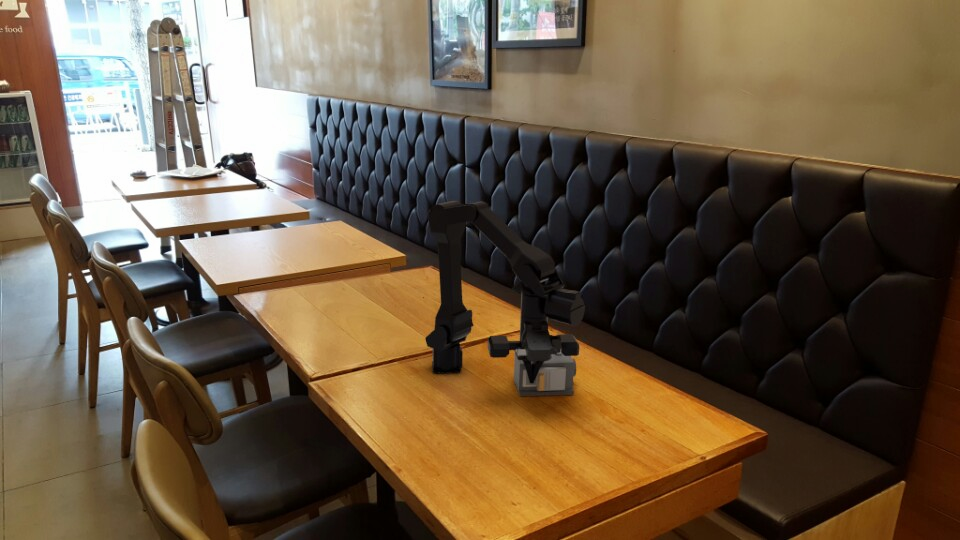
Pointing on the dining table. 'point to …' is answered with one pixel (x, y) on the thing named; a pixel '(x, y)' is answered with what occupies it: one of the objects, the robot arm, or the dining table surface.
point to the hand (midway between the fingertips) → (531, 382)
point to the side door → (551, 378)
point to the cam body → (531, 388)
